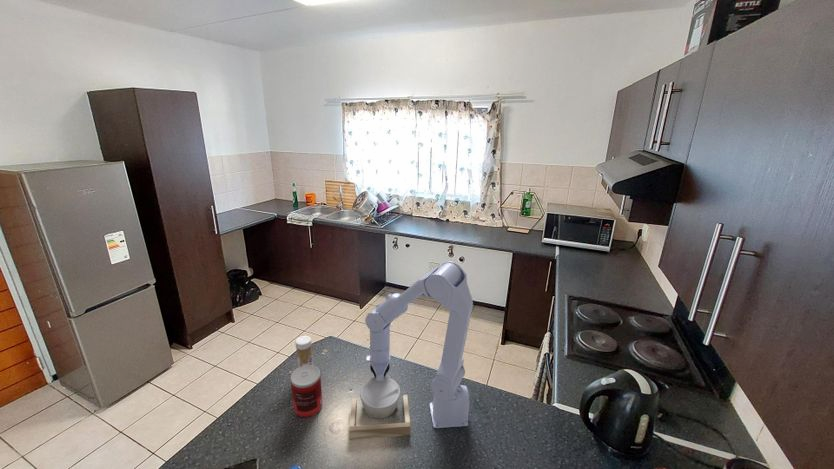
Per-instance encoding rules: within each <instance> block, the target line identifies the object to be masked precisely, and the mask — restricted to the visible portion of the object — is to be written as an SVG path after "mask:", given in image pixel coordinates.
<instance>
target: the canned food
mask: <svg viewBox="0 0 834 469" xmlns="http://www.w3.org/2000/svg"><path fill="white" fill-rule="evenodd" d="M321 378H322V377H321V371H320V368H318V367H317V366H315V365H314V364H313V365H305V366H301V367H299V368H298V367H297V368H296V369H295V370H293V372H292V373H291V375H290V388H291V396H292V404H293V409H294V412H295V414H296V415H297V416H299V417H301V418H311V417H313V416H314V415H317V413H319V412H320V410H321V408H322V407H323V406H322V405H323V392H322V380H321Z"/></svg>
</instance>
